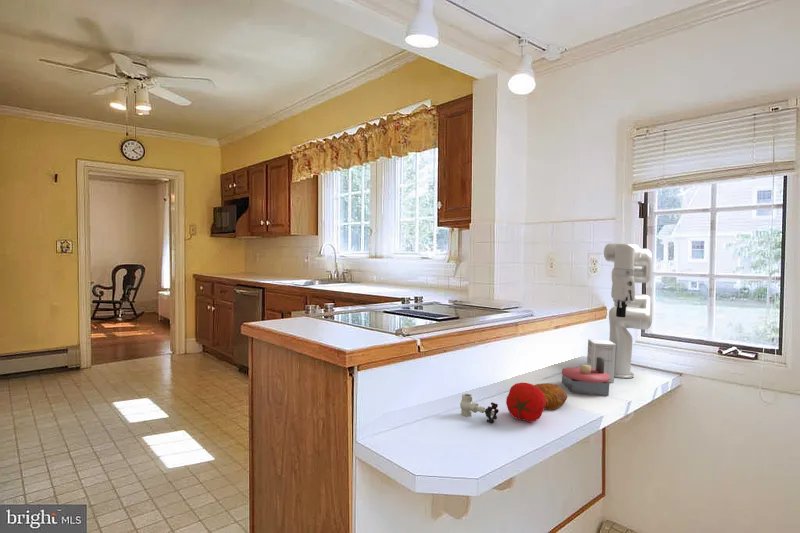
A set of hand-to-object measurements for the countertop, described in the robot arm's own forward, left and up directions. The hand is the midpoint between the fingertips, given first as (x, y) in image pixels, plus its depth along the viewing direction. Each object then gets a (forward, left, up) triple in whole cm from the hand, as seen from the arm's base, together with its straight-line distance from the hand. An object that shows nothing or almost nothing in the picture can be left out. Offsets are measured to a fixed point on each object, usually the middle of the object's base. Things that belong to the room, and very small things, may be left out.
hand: (620, 316), depth 189 cm
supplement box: (-8, -4, -29) cm, 31 cm away
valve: (+50, -63, -30) cm, 86 cm away
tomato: (+47, -47, -29) cm, 73 cm away
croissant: (+30, -36, -30) cm, 55 cm away
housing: (+9, -16, -29) cm, 34 cm away
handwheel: (+9, -16, -24) cm, 30 cm away
